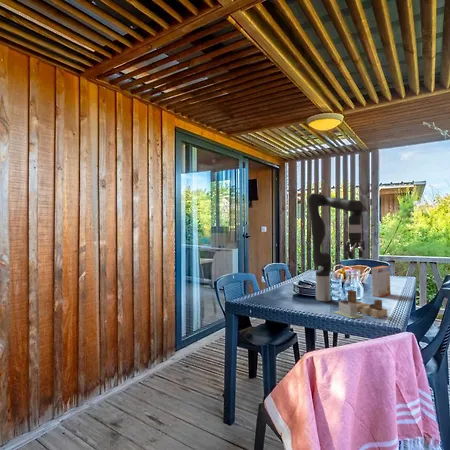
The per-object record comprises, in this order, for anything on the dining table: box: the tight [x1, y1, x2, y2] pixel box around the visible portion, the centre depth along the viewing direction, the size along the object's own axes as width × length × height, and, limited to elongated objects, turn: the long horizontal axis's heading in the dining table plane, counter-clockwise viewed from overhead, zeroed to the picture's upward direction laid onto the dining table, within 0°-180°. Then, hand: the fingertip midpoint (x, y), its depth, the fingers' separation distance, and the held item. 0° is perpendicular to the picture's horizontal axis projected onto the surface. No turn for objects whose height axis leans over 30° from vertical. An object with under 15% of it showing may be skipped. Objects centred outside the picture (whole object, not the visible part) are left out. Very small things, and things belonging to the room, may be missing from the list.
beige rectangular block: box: [338, 299, 358, 316], centre depth 184 cm, size 9×5×7 cm, turn 24°
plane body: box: [347, 289, 388, 319], centre depth 188 cm, size 24×8×11 cm, turn 24°
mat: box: [333, 310, 364, 319], centre depth 184 cm, size 14×9×1 cm, turn 24°
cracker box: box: [371, 265, 392, 298], centre depth 229 cm, size 14×6×21 cm, turn 121°
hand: (355, 257), depth 197 cm, fingers open, 8 cm apart
